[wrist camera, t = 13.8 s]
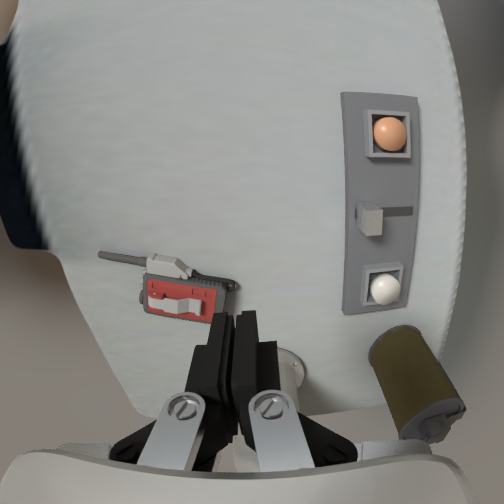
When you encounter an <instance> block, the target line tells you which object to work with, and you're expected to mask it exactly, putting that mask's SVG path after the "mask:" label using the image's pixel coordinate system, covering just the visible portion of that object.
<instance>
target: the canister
mask: <svg viewBox="0 0 504 504" xmlns="http://www.w3.org/2000/svg"><path fill="white" fill-rule="evenodd" d="M369 362H370V365H371V366H372V367H373V369H374V371H375V373H376V376H377V378H378V381H379V383H380V386H381V388H382V391H383V394H384V396H385V399H386V401H387V404H388V407H389V409H390V412H391V414H392V417H393V420H394V423H395V425H396V428H397V431H398V433H399V440H409V439H419V440H422V441H425V442H426V443H427V444H428V445H429V444H431V443H434V442H436V443H438V442H441V441H443V440H444V438H445V437H446V435H447V434H448V432H449V431H450V429H451V427H450V426H451V425H452V424H453V423H454V422H455V421H456V420H458V419H461V418H462V416H463V414H464V413H465V411H466V407H465V405H464V403H463V400H462V399H461V398H460V397H459V395H458V393H457V391H456V389H455V388H454V386H453V384H452V383H451V381H450V379H449V378H448V376H447V374H446V373H445V371H444V369H443V368H442V366H441V365H440V363H438V361H437V360H436V358H435V356H434V355H433V353H432V352H431V350H430V348H429V347H428V345H427V344H426V342H425V341H424V339H423V338H422V336H421V333H420V331H419V330H418V329H417V328H416V327H414V326H409V325H402V326H397V327H394V328H392V329H390V330H388V331H386V332H385V333H384V334H382V335H381V336H379V338H378V339H377V340H376V341H375V342H374V343H373V345H372V347H371V348H370V352H369Z"/></svg>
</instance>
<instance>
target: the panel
mask: <svg viewBox="0 0 504 504" xmlns="http://www.w3.org/2000/svg"><path fill="white" fill-rule="evenodd" d="M340 94H341V105H342V119H343V135H344V156H345V200H346V217H345V262H344V283H343V300H342V311H343V313H344V315H348V314H356V313H364V312H371V311H378V310H385V309H392V308H399V307H405V305H406V299H407V294H408V288H409V281H410V275H411V268H412V261H413V253H414V244H415V235H416V224H417V212H418V195H419V161H420V150H419V116H418V100H417V97H412V96H403V95H392V94H380V93H364V92H342V93H340ZM383 117H393V118H396V119H398V120H399V121H401V122H402V124H403V125H404V127H405V129H406V134H407V137H406V142H405V144H404V145H403V147H402V148H400V149H399V150H396V151H389V150H385V149H381V148H379V147H378V146H377V145H376V144H375V143H374V142H373V132H372V125H373V123H374V122H375V121H376V120H377V119H379V118H383ZM361 202H373V203H374V204H375V205H377V206H378V207H380V208H381V209H382V210H383V221H382V235H374V236H365V234H364V233H363V232H362V231H361V230H360V229H359V228H358V227H357V203H361ZM384 272H387V273H391V274H392V275H393V276H394V277H395V278H396V280H397V281H398V282H399V284H400V287H401V289H400V294H399V296H398V297H397V298H396V300H394V301H393V302H392V303H390V304H387V305H381V304H378V303H377V302H376V301H375V300H374V298H373V296H372V295H371V293H370V290H369V287H370V283H371V281H372V280H373V278H374V277H375V276H377V275H378V274H380V273H384Z"/></svg>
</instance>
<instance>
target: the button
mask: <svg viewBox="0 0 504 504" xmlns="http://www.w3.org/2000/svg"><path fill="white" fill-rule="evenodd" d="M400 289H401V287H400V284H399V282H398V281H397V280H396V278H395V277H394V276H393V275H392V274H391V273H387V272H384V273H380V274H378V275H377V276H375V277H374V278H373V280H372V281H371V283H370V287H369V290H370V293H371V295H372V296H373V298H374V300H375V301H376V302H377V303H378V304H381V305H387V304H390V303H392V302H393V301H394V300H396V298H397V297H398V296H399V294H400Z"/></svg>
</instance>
